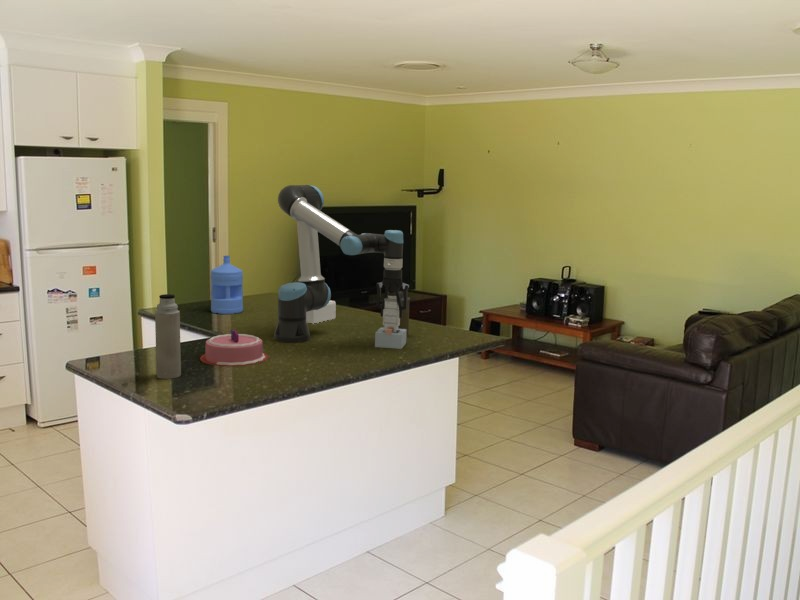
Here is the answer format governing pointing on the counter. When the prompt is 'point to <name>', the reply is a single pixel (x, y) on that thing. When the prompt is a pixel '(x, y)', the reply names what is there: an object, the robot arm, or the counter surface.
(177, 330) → the thermos bottle
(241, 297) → the water jug
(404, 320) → the canister
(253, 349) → the cake
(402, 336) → the stand base
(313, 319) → the white box
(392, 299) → the column
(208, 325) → the counter surface
